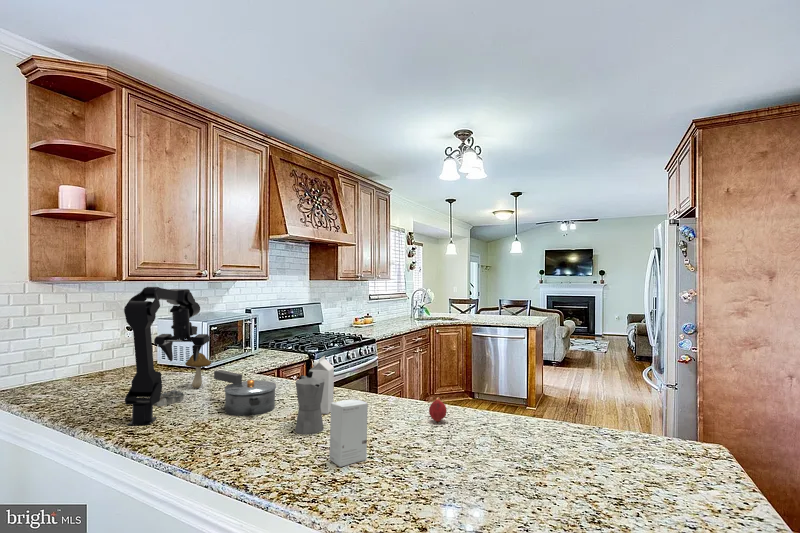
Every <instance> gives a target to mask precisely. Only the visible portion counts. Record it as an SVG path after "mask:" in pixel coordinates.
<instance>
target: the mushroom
mask: <svg viewBox="0 0 800 533" xmlns="http://www.w3.org/2000/svg"><path fill="white" fill-rule="evenodd" d="M184 364H185V366H186V367H189V368H195V375H194V377H193V380H192V384H191V386H192V388H194V389H199V388H201V387H202V385H203V379H202V378H203V377H202V368H205V367H209V366H211V364H212V362H211V361H210V360H209V359H208V358H207V357H206V354H204V353H202V352H199V354H198V357H197V360H196V361H194V358H193V354H192V355H190V357H189V359H188V360H187V361H186V362H185V363H184Z"/></svg>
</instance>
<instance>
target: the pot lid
mask: <svg viewBox="0 0 800 533" xmlns="http://www.w3.org/2000/svg"><path fill="white" fill-rule="evenodd" d="M213 379H214V380H218V381H220V382H221V381H222V382H226V383H230V384H227V385H225V386H224V394H225V393H227V394H232V395H256V394H262V393H267V392H270V391H273V390H274V389H275V390H276V388H277V384H276V383H275V382H273V381H268V380H254V379H249V380H244V381H243V374H240V373H238V372H237V373H236V372H230V371H226V370H222V369H218V370H214V371H213Z"/></svg>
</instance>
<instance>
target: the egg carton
mask: <svg viewBox="0 0 800 533" xmlns="http://www.w3.org/2000/svg"><path fill="white" fill-rule="evenodd" d="M185 395H186V393H184V392H183V391H179V390H176V389H173V390H170V391H167V392H163V393H162V392H161V396H160V401H159V402H157V403H155V404H153V406H157V407H165V406H167V405H170V404H173V405H174V404H175V403H178V402H180V403H182V402H183V401H184V397H185Z"/></svg>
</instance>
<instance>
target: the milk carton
mask: <svg viewBox="0 0 800 533" xmlns="http://www.w3.org/2000/svg"><path fill="white" fill-rule="evenodd" d="M312 365H313V366H312V367H311V368H310V369H309V370H308V372H309V371H311V372H313V374H312V377H314V378H320V379H324V388H323V395H322V401H321V413H322V414H323V415H329V414H331V403H332V402H334V386H335V385H334V384H335V383H334V381H335V380H334V378H335V376H334V375H335V371H334V370H335V366H333V365H332V364H331V362H329V361H328V360H327V359H326V355H323V356H322V357H320V358H319V359H317V360H315V361H314V362H313V363H312Z"/></svg>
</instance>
